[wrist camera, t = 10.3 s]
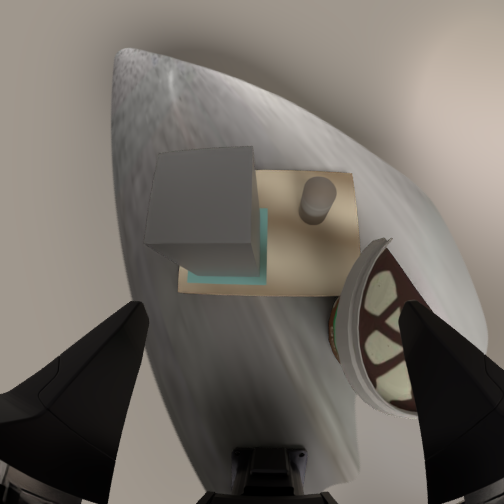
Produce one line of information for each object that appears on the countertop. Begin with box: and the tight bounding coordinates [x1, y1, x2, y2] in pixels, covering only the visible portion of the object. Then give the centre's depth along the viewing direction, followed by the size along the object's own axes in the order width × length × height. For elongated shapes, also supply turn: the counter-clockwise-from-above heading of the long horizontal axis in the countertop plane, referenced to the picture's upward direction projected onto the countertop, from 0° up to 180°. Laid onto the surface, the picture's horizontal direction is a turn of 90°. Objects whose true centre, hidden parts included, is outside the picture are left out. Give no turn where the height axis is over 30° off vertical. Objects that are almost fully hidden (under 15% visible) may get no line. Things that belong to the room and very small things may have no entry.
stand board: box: [178, 170, 360, 297], centre depth 21 cm, size 11×15×5 cm
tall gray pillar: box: [144, 146, 260, 277], centre depth 17 cm, size 5×5×10 cm
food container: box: [328, 238, 433, 419], centre depth 16 cm, size 12×6×10 cm, turn 35°
